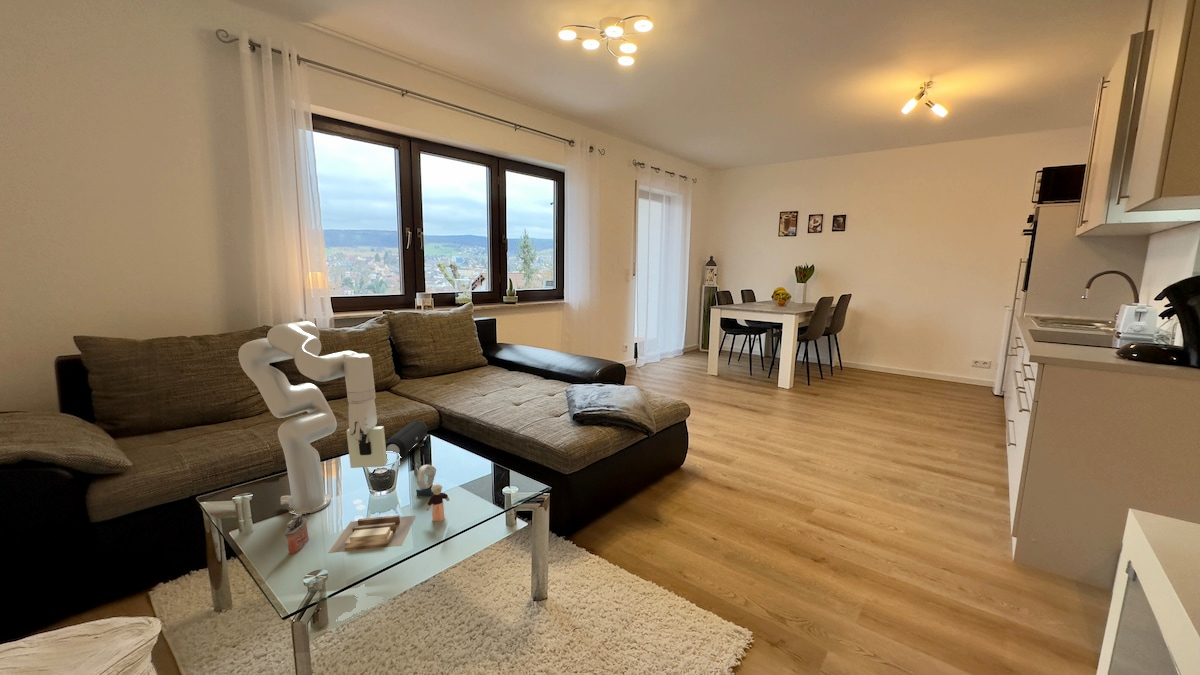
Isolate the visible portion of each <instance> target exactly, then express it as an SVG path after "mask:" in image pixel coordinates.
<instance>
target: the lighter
mask: <svg viewBox="0 0 1200 675" xmlns="http://www.w3.org/2000/svg"><path fill="white" fill-rule="evenodd" d="M307 522H308V518H307V517H303V515H302V514H298V515H293V516H292V518H291V520H290V521H289V522H288V523H287V524H286V530H285V531H284V535H285V538H286V543H287V549H288V554H287V555H295V554H297V553H298V552H300V551H301V550H302V549H303V548H304V547H305V546H306V544H308V542H309V540H310V539H309V538H310V537H309V531H308V525H307Z"/></svg>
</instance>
